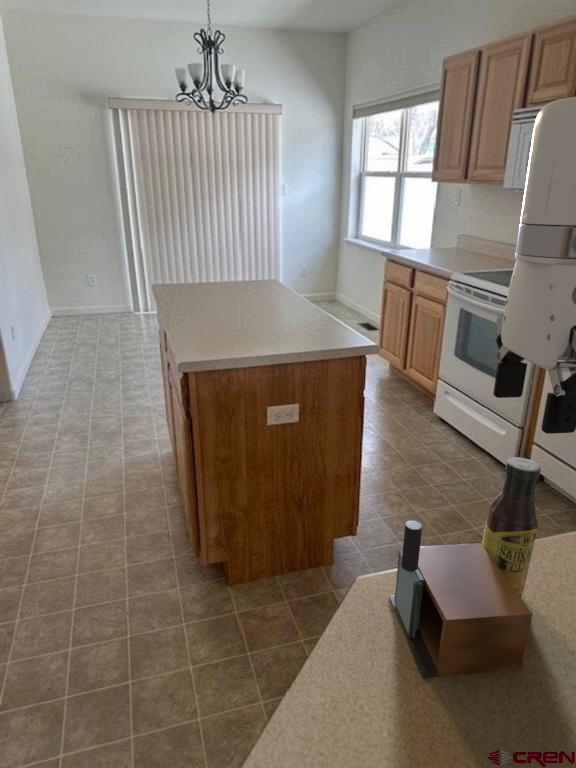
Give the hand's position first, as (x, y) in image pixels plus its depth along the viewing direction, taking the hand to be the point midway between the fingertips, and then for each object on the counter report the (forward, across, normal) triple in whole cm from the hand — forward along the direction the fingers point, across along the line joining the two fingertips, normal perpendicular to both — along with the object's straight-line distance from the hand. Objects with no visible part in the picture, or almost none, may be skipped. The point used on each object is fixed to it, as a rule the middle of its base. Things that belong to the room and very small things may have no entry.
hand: (530, 412), depth 56 cm
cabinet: (+30, +2, +4) cm, 31 cm away
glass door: (+30, +4, +10) cm, 32 cm away
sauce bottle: (+31, +8, -5) cm, 32 cm away
